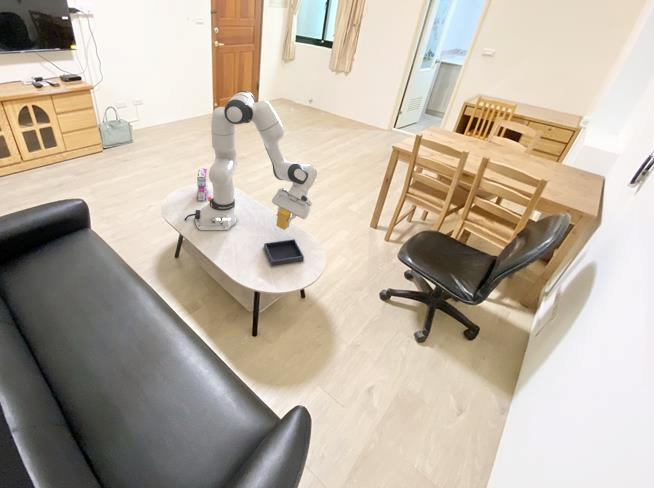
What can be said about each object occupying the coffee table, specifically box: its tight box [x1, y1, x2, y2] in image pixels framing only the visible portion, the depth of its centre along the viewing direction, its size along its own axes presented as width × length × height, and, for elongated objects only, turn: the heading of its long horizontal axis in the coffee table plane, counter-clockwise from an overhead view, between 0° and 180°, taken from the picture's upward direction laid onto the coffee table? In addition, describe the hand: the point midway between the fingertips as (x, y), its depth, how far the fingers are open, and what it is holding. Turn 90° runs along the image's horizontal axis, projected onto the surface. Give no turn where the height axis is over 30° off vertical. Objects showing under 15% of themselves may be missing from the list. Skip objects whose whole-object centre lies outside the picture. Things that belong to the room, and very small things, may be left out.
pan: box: [263, 238, 305, 267], centre depth 166 cm, size 16×13×4 cm
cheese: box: [275, 208, 292, 231], centre depth 165 cm, size 5×4×9 cm
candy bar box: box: [196, 168, 208, 202], centre depth 199 cm, size 11×5×16 cm, turn 5°
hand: (282, 219), depth 165 cm, fingers closed on cheese, 5 cm apart
